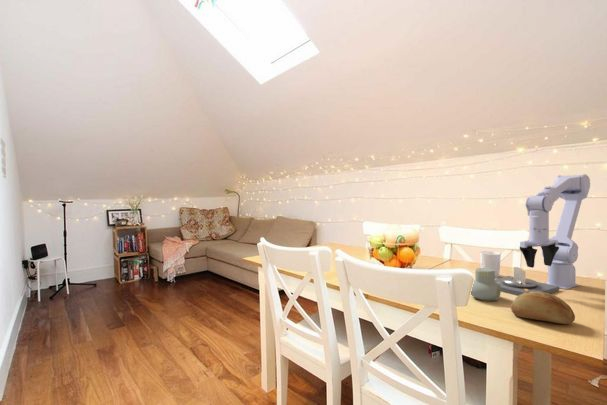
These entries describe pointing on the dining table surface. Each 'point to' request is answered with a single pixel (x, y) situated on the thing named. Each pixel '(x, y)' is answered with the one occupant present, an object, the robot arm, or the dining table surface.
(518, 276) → the dial
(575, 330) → the dining table surface
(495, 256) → the white cup
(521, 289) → the dial base
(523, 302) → the bread roll
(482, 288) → the air freshener
